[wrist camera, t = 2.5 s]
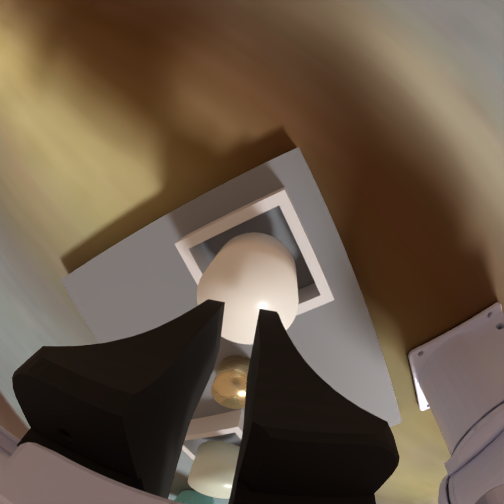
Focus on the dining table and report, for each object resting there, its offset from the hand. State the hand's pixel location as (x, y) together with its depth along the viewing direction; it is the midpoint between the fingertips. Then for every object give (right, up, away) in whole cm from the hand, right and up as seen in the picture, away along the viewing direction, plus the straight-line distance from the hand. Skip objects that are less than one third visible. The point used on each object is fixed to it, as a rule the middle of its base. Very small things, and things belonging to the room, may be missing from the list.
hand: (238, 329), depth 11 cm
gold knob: (0, -6, +10) cm, 12 cm away
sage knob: (-2, -15, +11) cm, 18 cm away
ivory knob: (+1, +2, +6) cm, 6 cm away
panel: (0, -5, +11) cm, 13 cm away
